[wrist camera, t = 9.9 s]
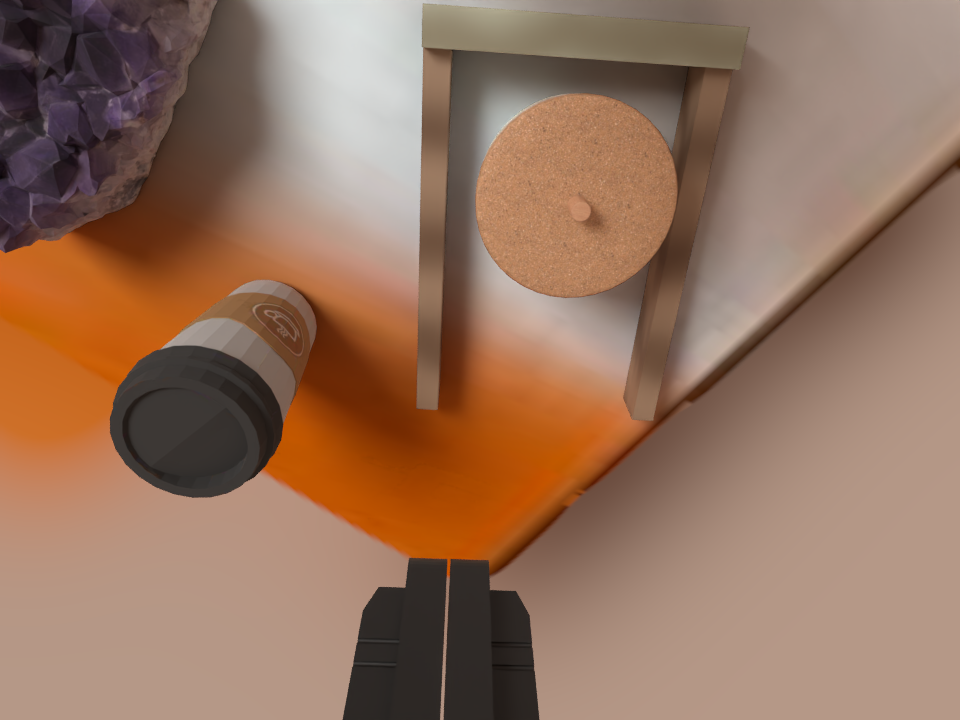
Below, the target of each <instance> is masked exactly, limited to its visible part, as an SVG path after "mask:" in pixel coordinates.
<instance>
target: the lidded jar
mask: <svg viewBox="0 0 960 720" xmlns="http://www.w3.org/2000/svg"><path fill="white" fill-rule="evenodd" d="M677 194H678V186H677V173H676V169H675V164H674V160H673V157H672V155H671V152H670V149H669V147H668V145H667V143H666V141H665V140H664V138H663V137H662V135H661V133H660V132H659V130H658V129H657V128H656V127H655V126H654V125H653V124H652V123H651V121H650V120H649V119H648V118H646V117H645V116H644V115H643V114H641V113H640V112H639V111H637V110H636V109H634V108H633V107H631V106H629V105H627V104H625V103H623V102H621V101H619V100H616V99H613V98H609V97H606V96H603V95H596V94H588V93H575V94H562V95H557V96H552V97H548V98H546V99H543V100H541V101H538V102H535V103H533V104H532V105H530V106H528V107H527V108H525V109H523V110H522V111H520V112H519V113H518V114H517V115H515V116H514V117H513V118H512V119H510V120H509V121H508V122H507V124H506V125H505V126H504V127H503V128H502V129H501V130H500V131H499V133H498V134H497V136H496V137H495V139H494V140H493V142H492V143H491V145H490V147H489V149H488V151H487V154H486V156H485V158H484V161H483V163H482V166H481V169H480V173H479V176H478V180H477V187H476V196H475V203H476V218H477V223H478V228H479V232H480V234H481V237H482V240H483V242H484V245H485V247H486V248H487V250H488V252H489V254H490V255H491V257H492V258H493V260H494V261H495V262H496V263H497V265H498V266H499V267H500V268H501V269H502V270H503V271H504V272H505V273H506V274H507V275H508V276H509V277H510V278H512V279H513V280H515V281H516V282H518V283H519V284H521V285H522V286H524V287H526V288H528V289H531V290H533V291H535V292H538V293H542V294H545V295H549V296H555V297H564V298H570V297H584V296H589V295H595V294H598V293H601V292H604V291H607V290H609V289H611V288H614V287H616V286H618V285H620V284H622V283H623V282H625V281H626V280H628V279H629V278H631V277H632V276H634V275H635V274H636V273H637V272H638V271H640V270H641V269H642V268H643V267H644V266H645V265H646V264H647V263H648V262H649V261H650V260H651V258H652V257H653V256H654V255H655V254H656V252H657V251H658V249H659V248H660V246H661V244H662V243H663V241H664V240H665V238H666V236H667V233H668V231H669V229H670V226H671V224H672V221H673V217H674V213H675V210H676V203H677Z"/></svg>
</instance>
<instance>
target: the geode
mask: <svg viewBox="0 0 960 720" xmlns="http://www.w3.org/2000/svg"><path fill="white" fill-rule="evenodd" d="M217 1H218V0H0V250H2V251H3V252H5V253H7V252H9V251H12V250H15V249H18V248H20V247H23V246H30V245H32V244H33V243H34V242H36V241H37V240H38V239H40V240H47V241H54V240H59V239H61V238H62V237H63V236H64V235H65V234H67V233H70V232H72V231H73V230H74V229H75V228H79V227H81V226H82V225H84V224H86V223H87V222H90V221H94V220H96V219H99V218H102V217H103V216H104V215H105V214H108V213H112V212H115V211H119V210H120V209H122V208H124V207H126V206H128V205H130V204H132V203H133V202H134V201H135V199H136V198H137V196H138V195H139V192H140V189H141V186H142V184H143V183H144V182H145V180H146V179H147V177H148V175H149V172H150V169H151V165H152V162H153V159H154V157H156V155H155V154H156V152H157V150H158V147H159V145H160V142H161V140H162V139H163V137H164V136H165V134H166V133H167V132H168V129H169V126H170V124H171V122H172V117H173V112H174V109H175V103H176V102H177V100H178V99H179V98H180V97H181V96H182V95H183V94H184V93H185V91H186V87H187V81H188V69H189V64H190V63H191V62H192V60H193V59H194V58H195V57H196V56H197V55H198V53H199V51H200V48H201V46H202V43H203V41H204V38H205V35H206V33H207V30H208V27H209V25H210V21H211V14H212V11H213V9H214V7H215V5H216V3H217Z"/></svg>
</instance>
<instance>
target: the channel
mask: <svg viewBox="0 0 960 720" xmlns="http://www.w3.org/2000/svg"><path fill="white" fill-rule="evenodd" d="M749 28H750V27H737V26H724V25H710V24H696V23H683V22H669V21H655V20H642V19H628V18H614V17H601V16H587V15H573V14H560V13H546V12H532V11H519V10H505V9H491V8H478V7H464V6H450V5H437V4H423V18H422V47H423V95H422V147H421V200H420V253H419V305H418V358H417V409H430V410H438V401H439V392H440V371H441V345H442V319H443V293H444V268H445V242H446V216H447V190H448V164H449V138H450V112H451V86H452V61H453V49H454V50H468V51H482V52H497V53H511V54H525V55H539V56H553V57H567V58H581V59H596V60H610V61H624V62H638V63H652V64H666V65H680V66H689V69H688V74H687V79H686V84H685V89H684V94H683V99H682V104H681V109H680V114H679V119H678V125H677V130H676V135H675V140H674V145H673V150H672V157H673V160H674V164H675V169H676V173H677V186H678V194H677V203H676V210H675V213H674V217H673V221H672V224H671V226H670V229H669V231H668V233H667V236H666V238H665V240H664V241H663V243H662V244H661V246H660V248H659V249H658V251H657V252H656V254H655V255H654V256H653V257H652V258H651V261H650V266H649V271H648V276H647V281H646V286H645V291H644V297H643V302H642V307H641V312H640V317H639V322H638V327H637V332H636V337H635V342H634V347H633V352H632V357H631V362H630V367H629V372H628V377H627V382H626V388H625V393H624V398H623V399H624V401H625V403H626V406H627V408H628V411H629V413H630V416H631V418H632V420H647V421H653V418H654V413H655V409H656V405H657V400H658V396H659V391H660V387H661V383H662V378H663V374H664V369H665V365H666V361H667V356H668V352H669V347H670V343H671V339H672V334H673V330H674V325H675V321H676V317H677V312H678V308H679V303H680V299H681V295H682V290H683V286H684V282H685V277H686V273H687V268H688V264H689V260H690V255H691V251H692V246H693V242H694V238H695V233H696V229H697V224H698V220H699V216H700V211H701V207H702V202H703V198H704V194H705V189H706V185H707V180H708V176H709V172H710V167H711V163H712V158H713V154H714V150H715V145H716V141H717V137H718V132H719V128H720V123H721V119H722V115H723V110H724V106H725V101H726V97H727V93H728V88H729V84H730V79H731V75H732V71H733V69H737V70H740V67H741V62H742V58H743V54H744V49H745V45H746V41H747V36H748V32H749Z"/></svg>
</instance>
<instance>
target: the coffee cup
mask: <svg viewBox="0 0 960 720" xmlns="http://www.w3.org/2000/svg"><path fill="white" fill-rule="evenodd" d="M316 329H317V326H316V319H315V315H314V313H313V311H312V308H311V306H310V305H309V304H308V302H307V301H306V300H305V298H304V297H303V296H302V295H301V294H300V293H298V292H297V291H296V290H295V289H294V288H292V287H289V286H287V285H285V284H283V283H280V282H276V281H272V280H255V281H252V282H248V283H245V284H244V285H242V286H240V287H239V288H237V289H236V290H234V291H233V292H232V293H231V294H229V295H228V296H227V297H225V298H224V299H222V300H220V301H219V302H217V303H216V304H214V305H213V306H212V307H211V308H209V309H208V310H207V311H205V312H204V313H203V314H202V315H200V316H199V317H198V318H196V319H195V320H194V321H193V322H191V323H190V324H189V325H187V326H186V327H185V328H184V329H182V331H181V332H180V333H179V334H178V335H177V336H176V337H175V338H174V339H172V340H171V341H170V342H169V343H167V344H166V345H165V346H164V347H162V348H161V349H160V350H156V351H154V352H152V353H151V354H149V355H147V356H146V357H144V358H143V359H141V360H139V361H138V362H137V364H136V365H135V366H134V367H133V369H132V370H131V371H130V372H129V373H128V375H127V377H126V378H125V380H124V381H123V382H122V383H121V385H120V386H119V387H118V390H117V393H116V396H115V399H114V402H113V410H112V414H111V416H110V434H111V437H112V440H113V443H114V446H115V449H116V450H117V452H118V453H119V455H120V456H121V458H122V459H123V461H124V462H125V464H126V465H127V466H128V467H129V468H130V469H132V470H133V471H134V472H135V473H136V474H137V475H138V476H139V477H141V478H142V479H144V480H145V481H147V482H148V483H150V484H152V485H153V486H155V487H157V488H160V489H162V490H165V491H168V492H170V493H172V494H176V495H182V496H187V497H192V498H194V497H214V496H218V495H222V494H226V493H228V492H231V491H232V490H234V489H236V488H238V487H240V486H241V485H243V483H244V482H246V481H248V480H250V479H252V478H254V477H255V476H256V475H257V474H258V473H259V472H260V471H261V470H262V469H263V468H264V467H265V466H266V464H267V463H268V461H269V459H270V458H271V457H272V456H273V455H274V453H275V451H276V449H277V447H278V445H279V443H280V441H281V437H282V429H283V423H284V420H285V417H286V415H287V412H288V409H289V407H290V405H291V403H292V401H293V399H294V397H295V395H296V392H297V389H298V386H299V384H300V381H301V378H302V376H303V373H304V370H305V367H306V365H307V362H308V359H309V353H310V351H311V348H312V345H313V343H314V340H315V336H316Z"/></svg>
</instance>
